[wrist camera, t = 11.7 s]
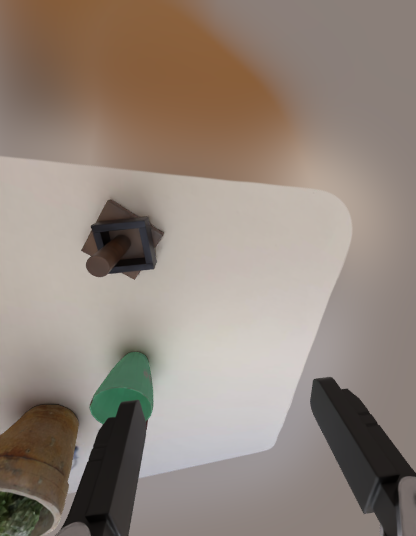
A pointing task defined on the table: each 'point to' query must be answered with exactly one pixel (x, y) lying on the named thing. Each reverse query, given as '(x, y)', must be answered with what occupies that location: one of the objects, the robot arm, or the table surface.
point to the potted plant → (36, 470)
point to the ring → (142, 223)
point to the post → (116, 243)
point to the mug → (124, 388)
